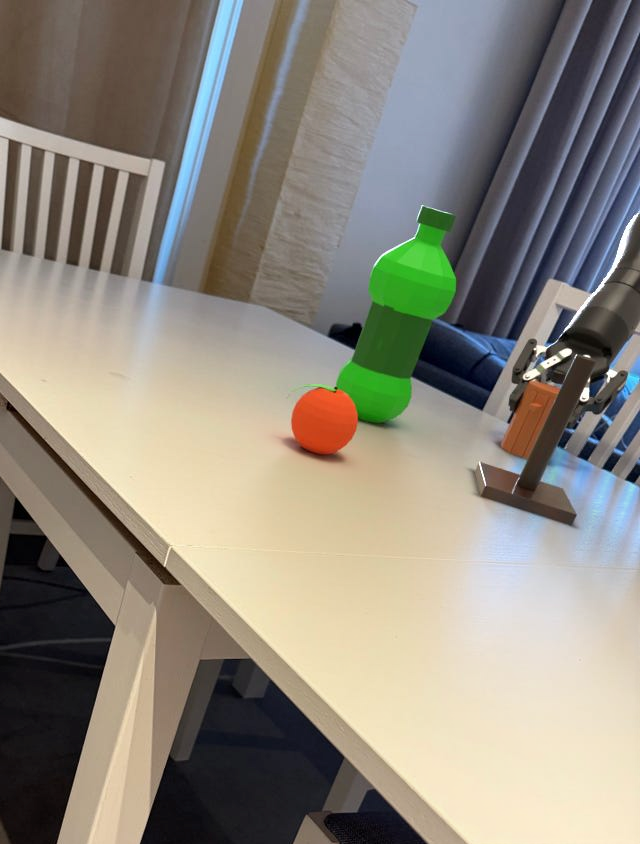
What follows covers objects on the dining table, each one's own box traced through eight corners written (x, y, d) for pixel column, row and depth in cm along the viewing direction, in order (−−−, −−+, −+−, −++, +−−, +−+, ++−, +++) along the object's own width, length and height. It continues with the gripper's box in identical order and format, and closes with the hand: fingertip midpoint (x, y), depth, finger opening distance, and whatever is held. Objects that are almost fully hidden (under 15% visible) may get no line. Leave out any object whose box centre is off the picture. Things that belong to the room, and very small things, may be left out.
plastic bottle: (309, 402, 119) (379, 193, 107) (356, 403, 126) (428, 207, 114) (369, 432, 113) (451, 214, 101) (416, 431, 120) (497, 227, 108)
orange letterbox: (509, 443, 128) (537, 379, 124) (551, 460, 125) (582, 396, 121) (487, 449, 121) (516, 382, 117) (531, 467, 119) (563, 399, 114)
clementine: (267, 445, 96) (289, 378, 93) (279, 431, 102) (299, 368, 99) (340, 470, 95) (365, 403, 92) (348, 454, 101) (371, 391, 98)
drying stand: (557, 500, 107) (624, 364, 100) (570, 527, 99) (645, 380, 91) (473, 473, 108) (534, 336, 101) (479, 498, 100) (546, 350, 92)
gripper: (554, 289, 124) (487, 378, 120) (661, 323, 117) (594, 419, 114) (548, 329, 130) (484, 415, 127) (649, 364, 124) (585, 455, 120)
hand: (536, 416), depth 120 cm, fingers closed on orange letterbox, 6 cm apart
